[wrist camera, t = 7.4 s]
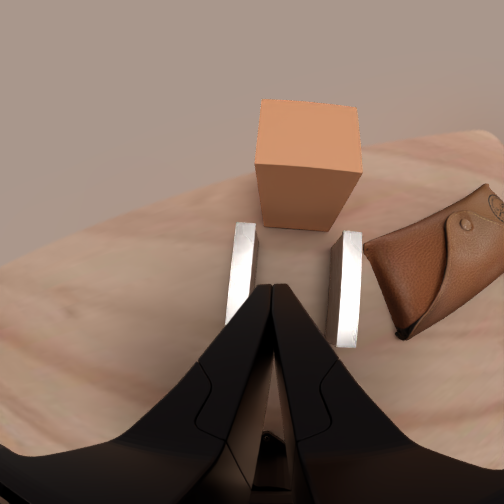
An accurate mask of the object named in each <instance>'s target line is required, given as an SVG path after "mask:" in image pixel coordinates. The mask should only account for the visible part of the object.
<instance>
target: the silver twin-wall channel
mask: <svg viewBox="0 0 504 504" xmlns="http://www.w3.org/2000/svg"><path fill="white" fill-rule="evenodd" d="M258 247H259V241H258V237H257V233H256V223H242V222H236V229H235V238H234V246H233V255H232V264H231V273H230V283H229V292H228V302H227V311H226V321H225V326H226V324H227V323H228V322H229V321H230V319H231V318H232V317H233V315H234V314H235V313H236V312H237V310H238V309H239V308H240V307H241V305H242V304H243V303H244V302H245V300H246V299H247V298H248V296H249V295H250V294H251V293H252V291H253V290H254V288H255V278H256V267H257V257H258ZM361 264H362V232H354V231H343V232H342V235H341V237H340V238H339V239H338V240H337V242H336V243H335V244H334V245H333V247H332V248H331V265H330V282H329V297H328V310H327V322H326V333H325V339H326V340H327V341H328V342H329V343H331V344H333V345H335V347H351V348H356V341H357V330H358V318H359V305H360V288H361Z"/></svg>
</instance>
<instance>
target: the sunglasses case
mask: <svg viewBox="0 0 504 504" xmlns="http://www.w3.org/2000/svg"><path fill="white" fill-rule="evenodd" d="M363 252H364V255H366V257H367V259H368V260H369V261H370V264H371V266H372V269H373V271H374V273H375V276H376V278H377V281H378V283H379V286H380V288H381V290H382V294H383V296H384V299H385V301H386V304H387V307H388V309H389V312H390V314H391V316H392V320H393V323H394V325H395V327H396V328H397V332H396V333H395V335H396V336H397V337H398V338H399V339H401V340H403V341H404V340H409V339H411V338H412V337H413V336H415V335H417V334H419V333H420V332H422V331H424V330H425V329H427V328H429V327H431V326H432V325H434V324H435V323H437V322H439V321H440V320H442V319H444V318H445V317H447V316H448V315H450V314H451V313H452V312H454V311H455V310H457V309H458V308H459V307H461V306H462V305H464V304H465V303H466V302H468V301H469V300H470V299H472V298H473V297H474V296H475V295H477V294H478V293H479V292H481V291H482V290H483V289H484V288H486V287H487V286H488V285H489V284H491V283H492V282H493V281H494V280H495V279H497V278H498V277H499V276H500V275H501V274H503V273H504V202H503V201H502V200H501V199H500V198H499V197H498V196H497V195H496V194H495V193H494V192H493V191H492V190H491V189H490V188H489V184H483V185H482V186H481V187H480V188H478V189H477V190H475V191H474V192H473V193H471V194H470V195H468V196H467V197H465V198H463V199H462V200H460V201H458V202H456V203H454V204H452V205H451V206H449V207H447V208H445V209H443V210H441V211H439V212H437V213H435V214H433V215H431V216H429V217H427V218H425V219H423V220H421V221H419V222H417V223H414V224H412V225H410V226H407V227H405V228H402V229H400V230H397V231H395V232H392V233H389V234H386V235H384V236H381V237H378V238H376V239H373V240H371V241H369V242H367V243H365V244H364V247H363Z"/></svg>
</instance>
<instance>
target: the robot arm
mask: <svg viewBox="0 0 504 504" xmlns="http://www.w3.org/2000/svg"><path fill="white" fill-rule="evenodd" d="M273 359H275V368H276V375H277V383H278V391H279V398H280V406H281V414H282V421H283V429H284V437H285V442H284V441H282V440H281V439H280V438H278V437H277V436H275V435H274V434H273V433H271V432H268V431H266V432H263V433H262V429H263V424H264V418H265V412H266V405H267V399H268V393H269V387H270V380H271V374H272V367H273ZM265 436H269V437H270V439H265V438H264V437H265ZM0 504H504V469H502V470H492V469H487V468H482V467H479V466H476V465H473V464H469V463H466V462H463V461H460V460H457V459H454V458H451V457H449V456H446V455H443V454H440V453H438V452H435V451H432V450H430V449H427V448H424V447H422V446H420V445H418V444H417V443H415V442H413V441H412V440H411V439H409V438H408V437H407V436H406V435H405V434H404V433H403V432H402V431H401V430H400V429H399V428H398V427H397V426H396V425H395V424H394V423H393V422H392V421H391V420H390V419H389V418H388V417H387V416H386V414H385V413H384V412H383V411H382V410H381V409H380V408H379V407H378V406H377V405H376V404H375V403H374V402H373V401H372V399H371V398H370V397H369V396H368V395H367V394H366V393H365V391H364V390H363V389H362V388H361V387H360V386H359V385H358V383H357V382H356V381H355V379H354V378H353V377H352V375H351V374H350V373H349V371H348V370H347V369H346V367H345V366H344V364H343V363H342V361H341V360H340V359H339V357H338V356H337V354H336V353H335V352H334V350H333V349H332V347H331V346H330V344H329V343H328V341H327V340H326V339H325V337H324V336H323V334H322V333H321V331H320V330H319V329H318V327H317V326H316V324H315V323H314V321H313V320H312V319H311V317H310V316H309V314H308V313H307V311H306V310H305V309H304V307H303V306H302V304H301V303H300V301H299V300H298V299H297V297H296V296H295V294H294V293H293V291H292V290H291V289H290V287H289V286H288V285H287V284H274V285H273V286H272V285H271V284H260V285H257V286H256V288H255V289H254V290H253V291H252V293H251V294H250V295H249V296H248V298H247V299H246V300H245V302H244V303H243V304H242V305H241V307H240V308H239V309H238V310H237V312H236V313H235V314H234V315H233V317H232V318H231V319H230V321H229V322H228V323H227V324H226V326H225V327H224V328H223V329H222V331H221V332H220V333H219V334H218V336H217V337H216V338H215V339H214V341H213V342H212V343H211V344H210V345H209V347H208V348H207V349H206V350H205V352H204V353H203V354H202V355H201V357H200V358H199V359H198V362H196V363H195V364H194V365H193V366H192V367H191V369H190V370H189V371H188V372H187V373H186V375H185V376H184V377H183V378H182V379H181V380H180V381H179V382H178V384H177V385H176V386H175V387H174V388H173V389H172V390H171V391H170V392H169V393H168V394H167V395H166V396H165V397H164V398H163V399H162V400H160V401H159V402H158V403H157V404H156V405H155V406H154V407H153V408H152V409H151V410H150V411H149V412H147V413H146V414H145V415H144V416H143V417H142V418H141V419H140V420H139V421H138V422H136V423H135V424H134V425H133V426H132V427H131V428H130V429H128V430H127V431H126V432H124V433H123V434H122V435H120V436H118V437H116V438H115V439H112V440H110V441H108V442H104V443H101V444H97V445H93V446H89V447H84V448H80V449H76V450H71V451H66V452H61V453H56V454H51V455H45V456H36V457H30V456H22V455H18V454H16V453H14V452H12V451H11V450H9V449H8V448H6V447H5V446H3V445H1V444H0Z"/></svg>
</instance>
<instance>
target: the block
mask: <svg viewBox="0 0 504 504" xmlns="http://www.w3.org/2000/svg"><path fill="white" fill-rule="evenodd" d="M255 170H256V176H257V182H258V189H259V196H260V202H261V209H262V216H263V222H264V226H266V227H279V228H292V229H304V230H316V231H329V230H330V228H331V227H332V225H333V223H334V222H335V220H336V218H337V216H338V215H339V213H340V211H341V210H342V208H343V206H344V205H345V203H346V201H347V199H348V198H349V196H350V194H351V193H352V191H353V189H354V187H355V186H356V184H357V182H358V180H359V178H360V177H361V175H362V173H363V172H362V156H361V144H360V133H359V123H358V114H357V108H355V107H349V106H341V105H333V104H324V103H315V102H302V101H290V100H289V101H288V100H270V99H262V102H261V110H260V119H259V128H258V137H257V146H256V156H255Z"/></svg>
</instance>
